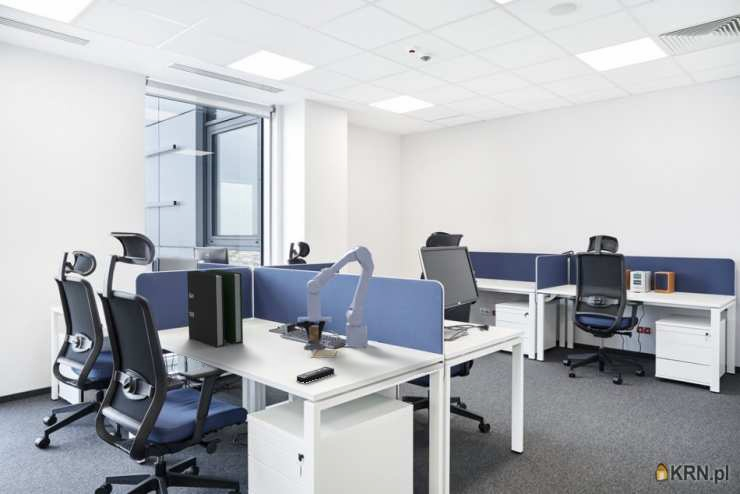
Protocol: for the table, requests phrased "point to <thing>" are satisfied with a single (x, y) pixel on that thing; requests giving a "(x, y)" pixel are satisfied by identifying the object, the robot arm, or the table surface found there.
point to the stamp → (314, 335)
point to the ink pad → (314, 346)
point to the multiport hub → (315, 374)
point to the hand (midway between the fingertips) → (314, 338)
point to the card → (325, 353)
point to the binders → (215, 307)
